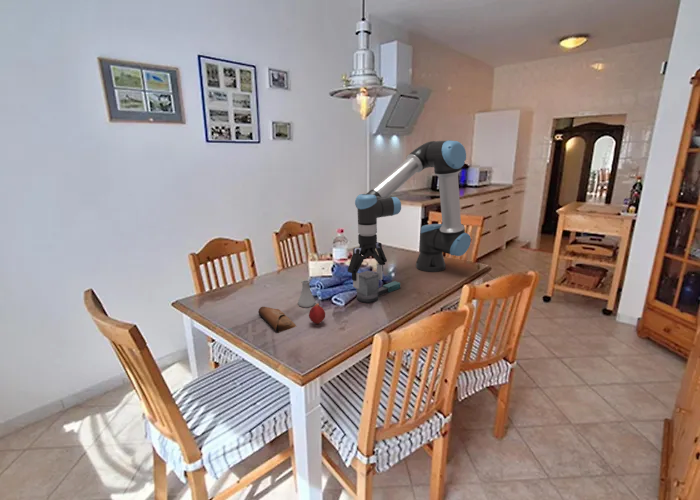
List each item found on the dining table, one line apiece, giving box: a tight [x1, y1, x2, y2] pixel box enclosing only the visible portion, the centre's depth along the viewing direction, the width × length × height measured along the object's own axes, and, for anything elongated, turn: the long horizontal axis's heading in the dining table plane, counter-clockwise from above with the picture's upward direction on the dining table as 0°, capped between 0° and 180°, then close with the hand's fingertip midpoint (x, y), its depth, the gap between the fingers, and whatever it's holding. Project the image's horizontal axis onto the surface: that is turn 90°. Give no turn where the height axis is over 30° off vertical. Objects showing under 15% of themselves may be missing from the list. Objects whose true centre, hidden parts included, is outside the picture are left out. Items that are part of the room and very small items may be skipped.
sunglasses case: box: [257, 306, 297, 334], centre depth 133 cm, size 18×7×7 cm
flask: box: [297, 279, 317, 308], centre depth 146 cm, size 7×7×10 cm
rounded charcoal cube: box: [355, 270, 380, 296], centre depth 150 cm, size 7×7×8 cm
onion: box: [308, 303, 326, 325], centre depth 129 cm, size 6×6×8 cm
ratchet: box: [356, 280, 401, 304], centre depth 155 cm, size 24×9×7 cm, turn 131°
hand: (368, 283), depth 150 cm, fingers open, 13 cm apart
